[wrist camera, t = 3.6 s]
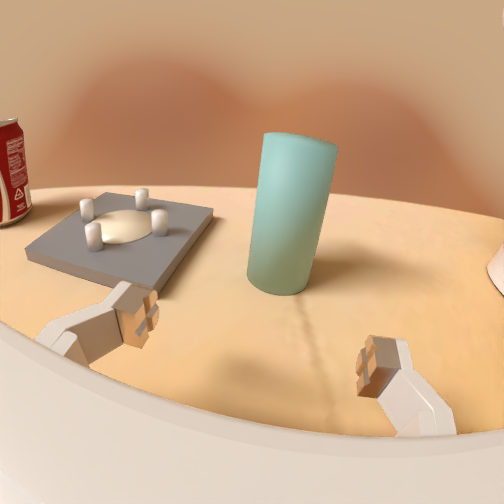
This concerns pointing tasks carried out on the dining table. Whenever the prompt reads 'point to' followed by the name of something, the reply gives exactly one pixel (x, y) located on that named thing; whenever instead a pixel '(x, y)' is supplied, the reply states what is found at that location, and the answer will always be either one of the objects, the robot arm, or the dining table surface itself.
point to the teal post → (289, 210)
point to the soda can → (13, 174)
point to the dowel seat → (122, 239)
